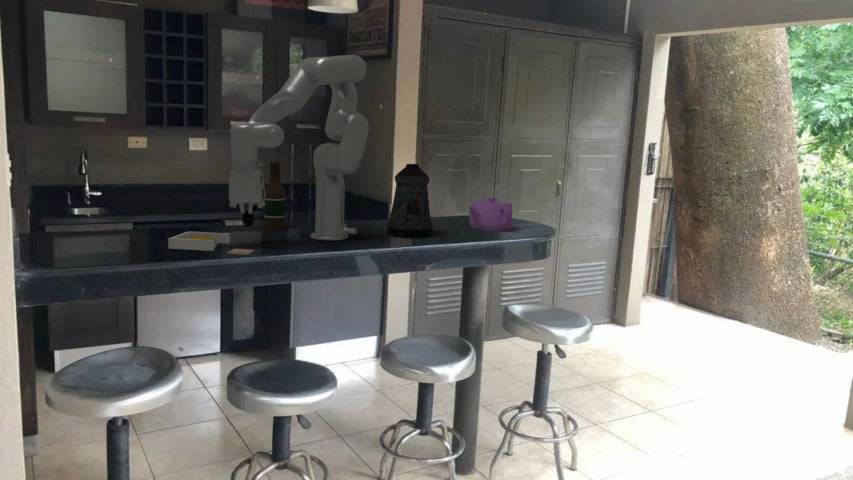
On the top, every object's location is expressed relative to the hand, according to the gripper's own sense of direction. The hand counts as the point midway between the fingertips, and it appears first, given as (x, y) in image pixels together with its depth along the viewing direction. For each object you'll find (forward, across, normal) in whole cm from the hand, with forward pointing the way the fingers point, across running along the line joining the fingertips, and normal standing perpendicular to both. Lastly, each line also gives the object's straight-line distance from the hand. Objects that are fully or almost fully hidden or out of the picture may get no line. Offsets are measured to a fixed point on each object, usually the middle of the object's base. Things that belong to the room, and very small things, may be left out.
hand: (248, 225), depth 214 cm
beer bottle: (+8, +3, -37) cm, 38 cm away
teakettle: (+12, -74, -63) cm, 98 cm away
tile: (+6, -1, +10) cm, 12 cm away
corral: (+6, +14, +3) cm, 16 cm away
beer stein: (+10, -45, -40) cm, 61 cm away
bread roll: (+6, +13, +4) cm, 15 cm away
